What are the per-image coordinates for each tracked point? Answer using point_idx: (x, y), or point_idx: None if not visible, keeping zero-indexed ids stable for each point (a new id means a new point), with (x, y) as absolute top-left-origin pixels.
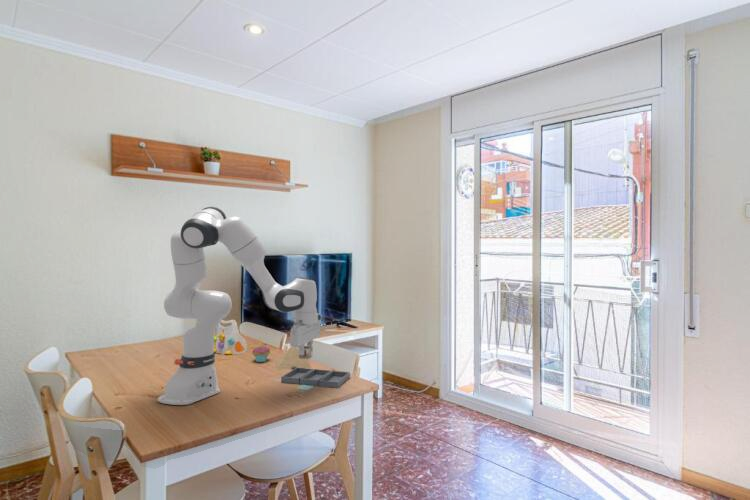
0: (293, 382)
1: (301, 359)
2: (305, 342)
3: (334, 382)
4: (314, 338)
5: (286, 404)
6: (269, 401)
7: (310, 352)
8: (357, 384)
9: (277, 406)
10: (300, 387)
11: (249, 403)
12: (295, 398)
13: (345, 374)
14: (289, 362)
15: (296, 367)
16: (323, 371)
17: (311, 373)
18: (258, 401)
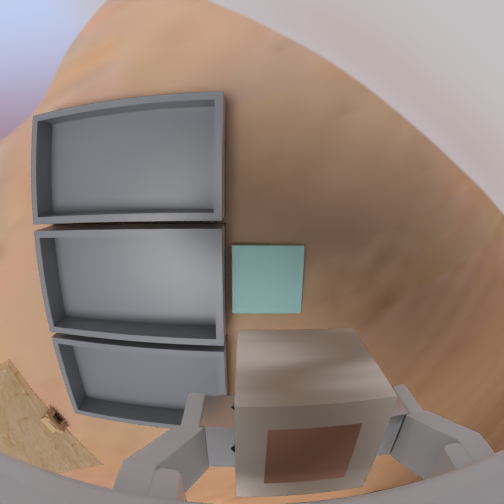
0: (226, 366)
1: (8, 415)
2: (498, 462)
3: (222, 113)
4: (97, 491)
5: (467, 264)
6: (444, 341)
7: (303, 363)
8: (128, 41)
9: (483, 286)
10: (277, 305)
11: (457, 385)
12: (409, 261)
13: (43, 139)
14: (48, 447)
15: (49, 414)
16: (48, 275)
17: (95, 327)
18: (444, 374)
